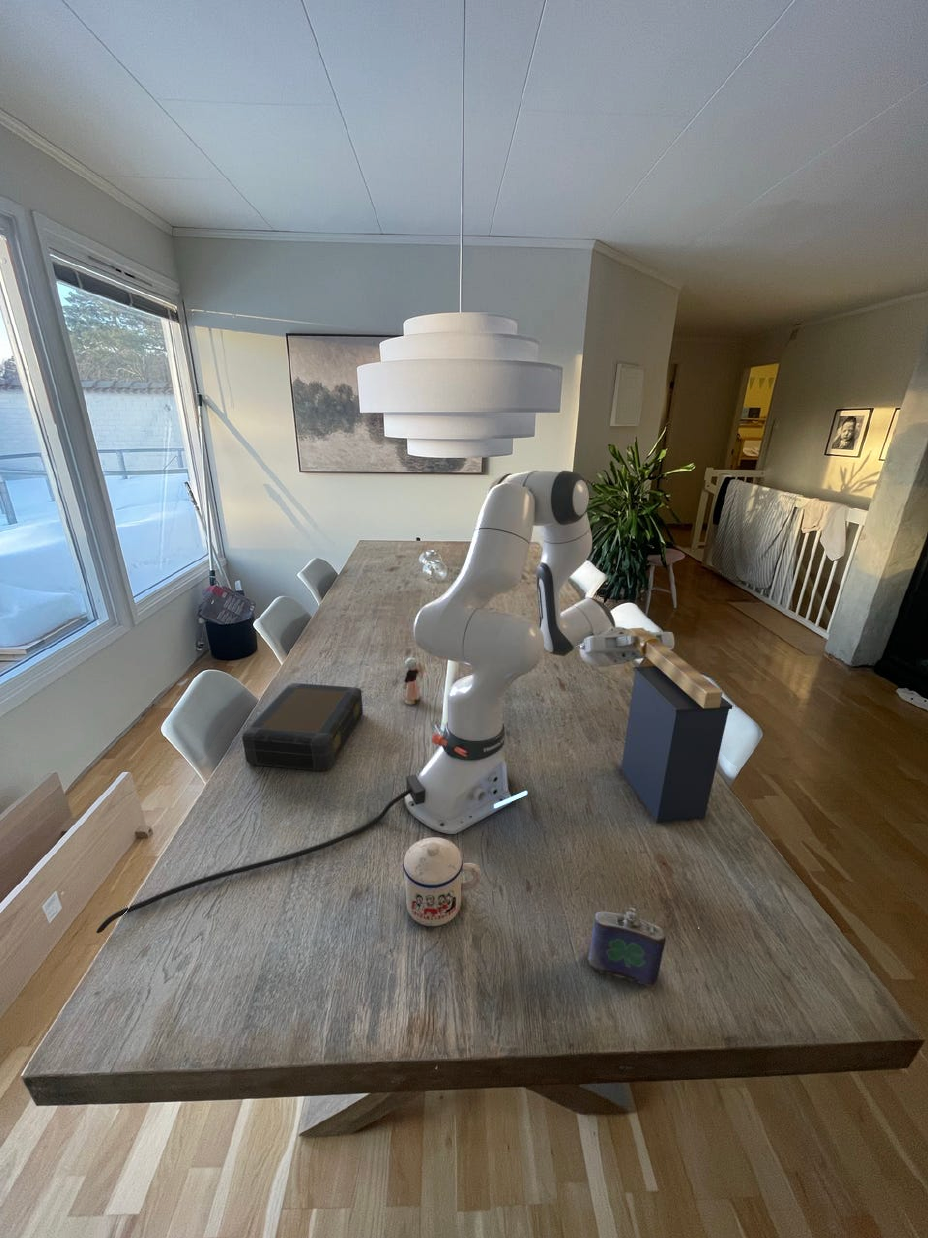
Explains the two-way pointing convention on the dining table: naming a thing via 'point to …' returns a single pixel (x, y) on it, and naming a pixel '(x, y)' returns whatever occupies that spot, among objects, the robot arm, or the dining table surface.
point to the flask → (626, 946)
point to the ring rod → (677, 669)
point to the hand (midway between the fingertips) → (643, 639)
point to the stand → (671, 747)
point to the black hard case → (304, 727)
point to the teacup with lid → (435, 880)
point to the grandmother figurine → (411, 681)
